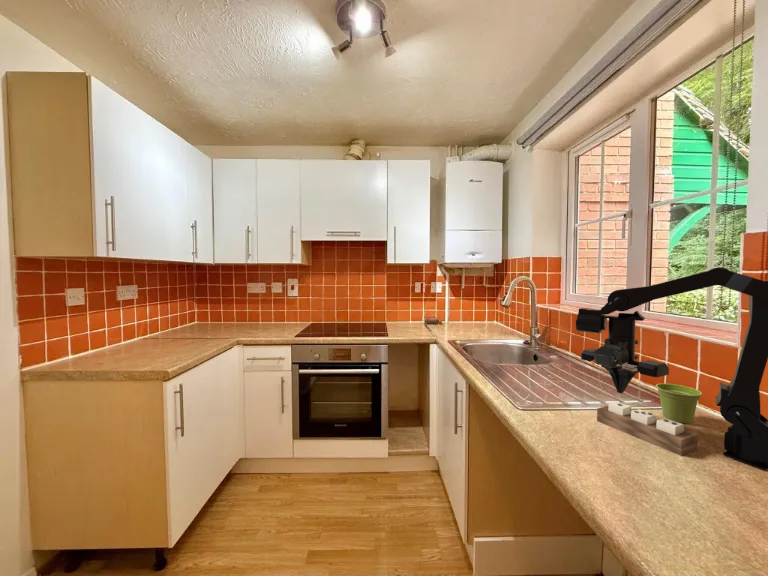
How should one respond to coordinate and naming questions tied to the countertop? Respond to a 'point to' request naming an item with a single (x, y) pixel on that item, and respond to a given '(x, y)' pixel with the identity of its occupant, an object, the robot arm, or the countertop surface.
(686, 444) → the tile board
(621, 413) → the tile one dot
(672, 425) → the tile two dot
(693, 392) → the plant pot
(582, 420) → the countertop surface
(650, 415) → the tile three dot
